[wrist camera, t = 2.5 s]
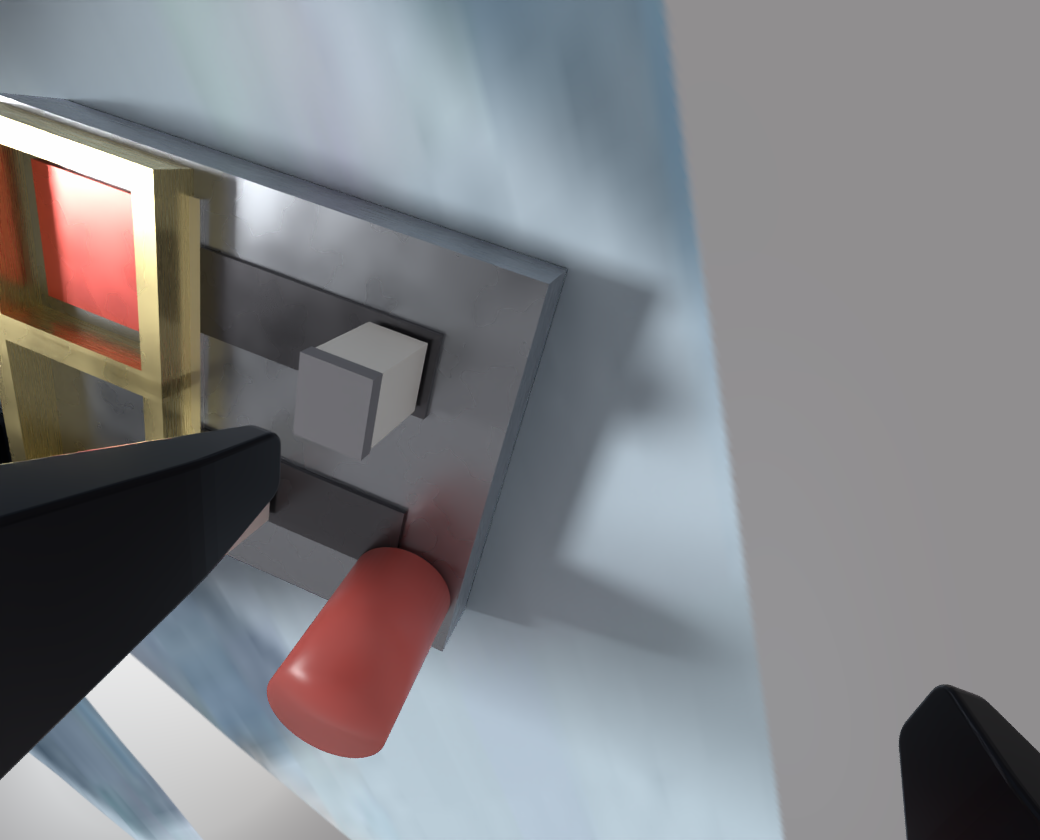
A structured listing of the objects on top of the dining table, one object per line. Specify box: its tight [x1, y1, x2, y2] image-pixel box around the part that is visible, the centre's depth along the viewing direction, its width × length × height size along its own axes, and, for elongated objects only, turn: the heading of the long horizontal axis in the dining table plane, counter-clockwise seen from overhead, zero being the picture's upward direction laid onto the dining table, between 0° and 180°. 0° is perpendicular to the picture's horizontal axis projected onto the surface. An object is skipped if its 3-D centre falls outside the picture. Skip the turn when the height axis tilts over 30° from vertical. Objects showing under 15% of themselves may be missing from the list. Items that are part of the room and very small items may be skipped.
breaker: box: [293, 322, 428, 461], centre depth 17 cm, size 2×2×3 cm
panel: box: [0, 93, 567, 651], centre depth 21 cm, size 16×20×4 cm
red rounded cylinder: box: [267, 547, 450, 758], centre depth 20 cm, size 4×4×6 cm
